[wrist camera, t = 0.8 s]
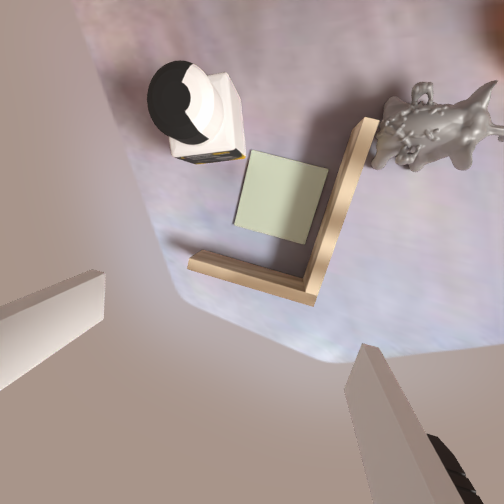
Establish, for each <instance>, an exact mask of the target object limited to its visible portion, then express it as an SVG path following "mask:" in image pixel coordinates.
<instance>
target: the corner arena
mask: <svg viewBox="0 0 504 504" xmlns="http://www.w3.org/2000/svg"><path fill="white" fill-rule="evenodd" d="M379 121H380V120H376V119H371V118H367V117H364V118H363V119H362V120H361V121H360V122H359V123H358V124H357V125H356V126H355V127H354V128H353V129H352V132H351V135H350V138H349V141H348V144H347V147H346V150H345V153H344V156H343V159H342V162H341V165H340V168H339V171H338V174H337V177H336V180H335V183H334V186H333V189H332V192H331V195H330V198H329V201H328V204H327V207H326V210H325V213H324V217H323V220H322V223H321V226H320V229H319V232H318V235H317V238H316V241H315V244H314V247H313V250H312V253H311V256H310V259H309V262H308V265H307V268H306V271H305V274H304V277H303V278H299V277H296V276H292V275H289V274H285V273H282V272H278V271H275V270H272V269H268V268H265V267H261V266H258V265H254V264H251V263H247V262H244V261H241V260H237V259H234V258H230V257H227V256H223V255H220V254H216V253H213V252H210V251H206V250H201V251H200V252H198V253H196V254H195V255H193V256H192V257H190V258H189V262H188V267H187V269H189V270H192V271H195V272H199V273H202V274H205V275H209V276H212V277H215V278H219V279H222V280H225V281H229V282H232V283H236V284H239V285H242V286H246V287H249V288H252V289H256V290H259V291H262V292H266V293H269V294H272V295H276V296H279V297H282V298H286V299H289V300H292V301H296V302H299V303H303V304H306V305H309V306H313V307H314V304H315V301H316V298H317V296H318V293H319V290H320V287H321V284H322V281H323V279H324V276H325V273H326V270H327V267H328V265H329V262H330V259H331V256H332V253H333V250H334V248H335V245H336V242H337V239H338V236H339V234H340V231H341V228H342V225H343V222H344V219H345V217H346V214H347V211H348V208H349V205H350V202H351V200H352V197H353V194H354V191H355V188H356V186H357V183H358V180H359V177H360V174H361V171H362V169H363V166H364V163H365V160H366V157H367V155H368V152H369V149H370V146H371V143H372V140H373V138H374V135H375V132H376V129H377V126H378V124H379Z"/></svg>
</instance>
